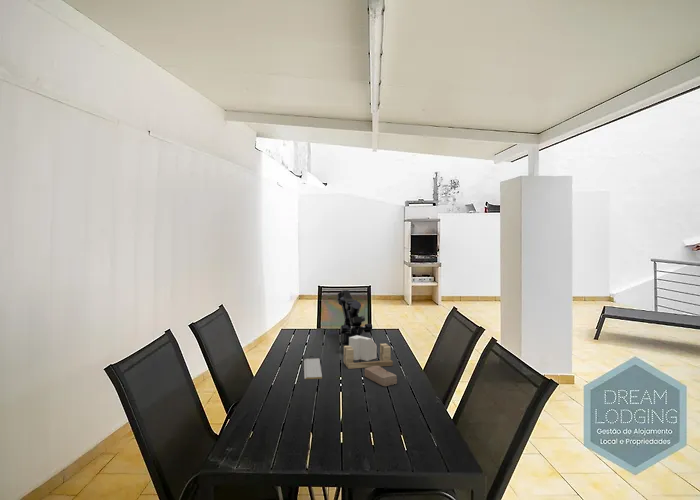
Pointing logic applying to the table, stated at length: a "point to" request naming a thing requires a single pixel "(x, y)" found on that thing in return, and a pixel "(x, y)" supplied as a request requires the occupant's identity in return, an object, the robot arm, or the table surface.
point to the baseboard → (312, 369)
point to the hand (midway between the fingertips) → (358, 341)
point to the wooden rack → (384, 357)
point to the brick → (380, 376)
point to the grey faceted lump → (363, 348)
